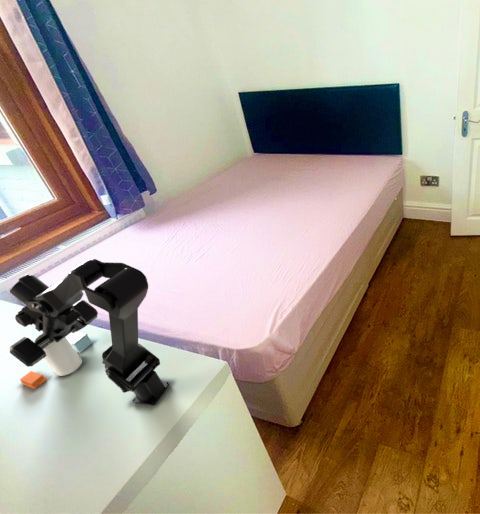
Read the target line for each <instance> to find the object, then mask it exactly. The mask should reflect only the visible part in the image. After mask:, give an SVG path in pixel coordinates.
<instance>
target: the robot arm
mask: <svg viewBox="0 0 480 514" xmlns="http://www.w3.org/2000/svg"><path fill="white" fill-rule="evenodd" d="M102 278H105V279H106V280H105V281H103V282H102V283H100V284H99V285H97V286H96V287H95V288H94V289H92V288H89V287H90V286H91V285H93V284H94V283H95V282H97V281H98V280H100V279H102ZM148 290H149V282H148V279H147V276H146V274H145V273H144V272H142V271H141V270H139V268H135V267H133V266H131V265H128V264H126V263H124V262H105V261H104V262H103V261H100V260H99V259H97V258H91V259H88V260H85V261H84V262H82V263H81V264H79V265H77V266H75V267H73V268H72V269H71V270H70V271H69V272H68V273H67V275H66V276H65V277H64V279H61V280H60V281H57V282H56V283H54V284H51V286H49V285H47V284H45V283H44V282H43V281H42V280H41V279H39V278H38V277H37V276H36V275H33V274H32V275H29V274H28V273H26V274H25V275H23V276H21V277H19V278H18V281H17V282H16V283H15V284H14V285H12V287H11V288H10V289H9V293H10V294H11V295H12V296H14V297H15V298H16V299H17V300H19V302H21V303H22V304H23V305H25V306H23V307H22V308H21V310H19V311H17V313H16V315H15V317H14V319H15V321H16V322H17V324H18V325H20V326H22V327H24V328H25V327H28V326H29V325H30V326H32V325H34V327H35V330H37V331H38V332H41V331H42V334H44V336H43V337H41V338H40V339H39V340H37V341H36V342H34V341H33V340H32V339H31V338H29V337H27V336H23V337H22V338H20V339H19V340H17V341H16V342H15V343H13V344H12V345H10V346H9V354H11V355H12V356H13V357H14V358H15V359H17V360H18V361H19V362H21V363H22V364H23V365H25V366H26V367H33V366H34V365H36V364H38V363H39V362H40V361H42V360H43V359H44V357H46V356H47V355H46V353H45V351H44V350H43V349H44V348H46V347H47V346H48V345H50V344H51V343H52V342H54V341H56V342H57V343H58V342H59V341H60V340H62V339H63V338H64V337H67V336H68V335H69V334H71V333H73V334H74V333H75V332H80V330H83V329H84V328H85V327H87V326H88V325H89V324H91V323H92V322H93V321H94V320H95V319H97V318H98V314H99V311H98V310H97V309H96V308H95V307H97V308H99V309H101V310H104V311H105V312H107V313H108V321H109V329H110V338H111V345H110V346H109V347H107V348H106V349H105V350H104V351H102V353H101V358H102V362H101V363H102V364H103V365H104V372H105V375H106V376H107V378H108V379H109V380H110V381H111V382H113V384H115V386H117V387H118V388H119V389H120V390H121V392H122V393H124V394H125V393H128V392H131V393H134V395H135V396H134V397H133V399H132V400H131V402H132V403H133V404H139V405H146V406H155V405H156V403H157V402H158V401H159V400H160V398H161V397H162V395H163V394H164V393H165V391H166V390H167V389H168V387H169V386H170V381H165V380H162V379H161V378H160V376H159V375H158V373H157V371H156V369H157V368H158V367H159V366H160V365H161V361H160V358H159V357H157V356H156V355H155V354H154V353H152V352H151V351H150V350H148V349H147V348H146V347H145V346H143V345H142V344H141V343H139V308H140V306H141V304H142V303H143V301H144V300H145V299H146V297H147V294H148ZM84 293H85V296H86V298H87V301H86V300H84V299H82V298H83V296H84ZM94 306H95V307H94ZM47 341H48V342H47ZM45 342H46V343H45ZM42 344H43V345H42ZM39 346H40V347H39Z"/></svg>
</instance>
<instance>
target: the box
mask: <svg viewBox="0 0 480 514" xmlns="http://www.w3.org/2000/svg"><path fill="white" fill-rule="evenodd" d="M66 339H67V340H68V341H69V343H70V344H71V345H72V347H73V348H74V349H75V351H76V352H77V353H78V354H80V353H82V352H83V351H85V350H86V349H87V348H88V347H89V346H90V345H92V344H93V342H92V340H91V339H90V337H89V336H88V333H85V332H81V331H77V332H75V333H74V334H73V333H72V332H71V333H70V334H68V335H67V336H66Z"/></svg>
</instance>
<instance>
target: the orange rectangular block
mask: <svg viewBox="0 0 480 514" xmlns="http://www.w3.org/2000/svg"><path fill="white" fill-rule="evenodd" d="M47 380H48V379H47V377H46V376H44V375H43V374H41V373H39V372H35V371H32V370H31V371H29V372H28V373H26V374H25V375H24V376H23V377H21V378H19V381H20V383H21V384H22V385H23V386H26V387H29V388H31V389H34V390H36V389H37V388H39V387H40V386H41V385H43V383H45V382H46V381H47Z"/></svg>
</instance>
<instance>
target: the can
mask: <svg viewBox="0 0 480 514" xmlns="http://www.w3.org/2000/svg"><path fill="white" fill-rule="evenodd" d="M43 336H44V334H43V333H41V334H39V335H38V336H36V338H35V340H34V341H33V342H36V341H37V340H39V339H40V338H41V337H43ZM66 337H67V336H66ZM66 337H64V338H63V339H62V340H60V341H59V342H58V343H57V342H56V341H54V342H52V343H51V344H50V345H48V346H47V347H46V348H44V349H43V350H44V351H45V353H46V355H47V356H46V357H44V358H43V359H44V360H45V361H46V362H47V364H48V365H49V366H50V368H51V369H52V370H53V371H54V372H55V374H56V375H57V376H59V377H60V376H61V377H64V376H68V375H71V374H73V373H74V372H76V371H77V370H78V369H80V367H81V366H82V363H83V359H82V358H81V356H80V355H79V352H76V351H75V349H74V348H73V347H72V345H71V344H70V343H69V341H68V340H67V339H66ZM47 342H48V341H47ZM45 343H46V342H45ZM42 345H43V344H42ZM39 347H40V346H39Z"/></svg>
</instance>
